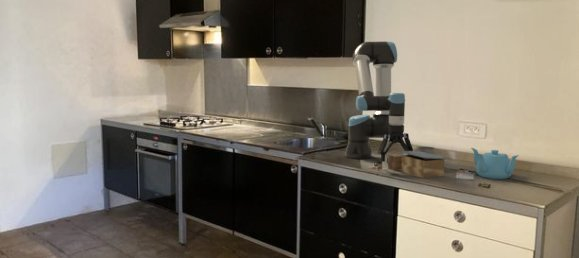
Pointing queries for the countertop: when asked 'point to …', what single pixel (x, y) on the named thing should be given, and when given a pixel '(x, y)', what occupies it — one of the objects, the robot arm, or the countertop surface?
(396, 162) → the block
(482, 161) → the teapot
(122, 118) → the countertop surface
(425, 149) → the cup
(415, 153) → the lid
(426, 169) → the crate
